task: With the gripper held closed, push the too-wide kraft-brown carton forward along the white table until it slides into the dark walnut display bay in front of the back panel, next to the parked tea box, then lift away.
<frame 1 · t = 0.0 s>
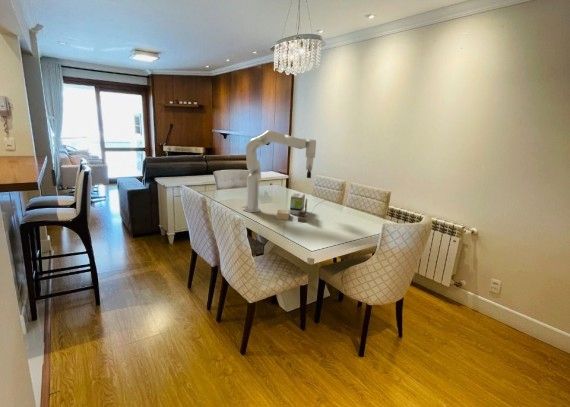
hand: (308, 177, 245), 31 cm above the table, fingers open, 9 cm apart
carton: (283, 217, 242), on the table
tea box: (296, 212, 259), on the table
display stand: (300, 218, 241), on the table
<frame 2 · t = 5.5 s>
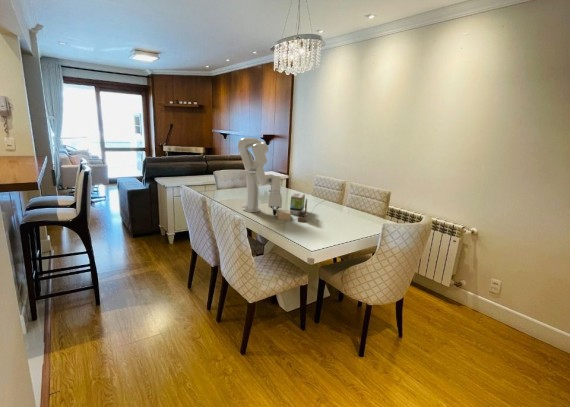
hand: (274, 214, 242), 2 cm above the table, fingers closed
carton: (283, 217, 242), on the table, touching gripper
everything else where it was.
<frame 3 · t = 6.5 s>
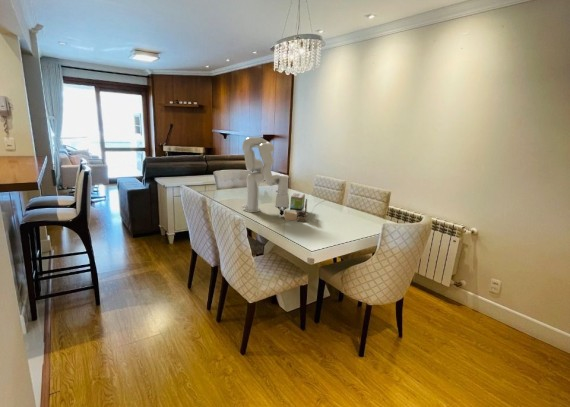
hand: (281, 215, 242), 2 cm above the table, fingers closed
carton: (290, 218, 242), on the table, touching gripper
everything else where it was.
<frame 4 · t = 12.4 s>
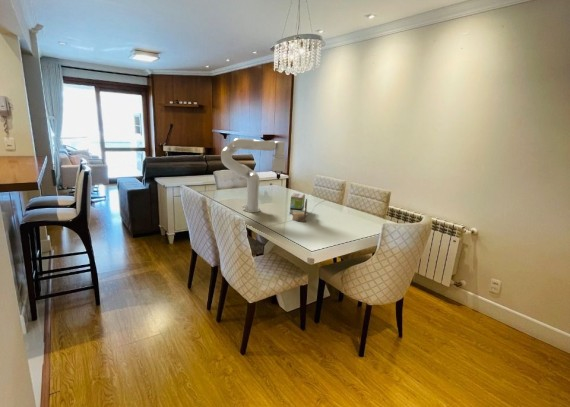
hand: (278, 179, 253), 27 cm above the table, fingers closed
carton: (298, 218, 242), on the table
everything else where it was.
at the end: carton 2.3 cm from the target spot on the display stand, point 0.0 cm above the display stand's base; carton tilted 0° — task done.
